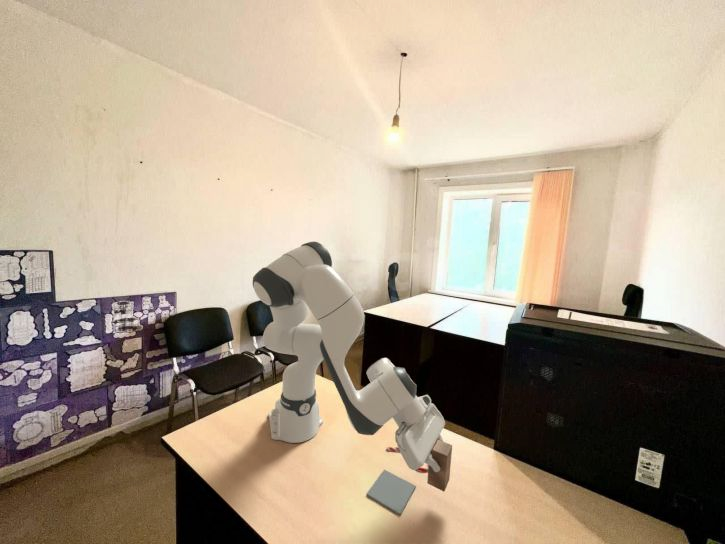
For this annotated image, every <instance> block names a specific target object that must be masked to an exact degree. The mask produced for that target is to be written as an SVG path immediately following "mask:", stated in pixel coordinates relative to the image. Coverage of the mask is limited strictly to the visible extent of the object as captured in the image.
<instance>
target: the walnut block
mask: <svg viewBox="0 0 725 544" xmlns="http://www.w3.org/2000/svg"><path fill="white" fill-rule="evenodd" d="M452 452H453V444H450V443H448V442H445V441H444V440H443V441H441V440H438V439H437V440H436V442H435V444H434V446H433V448H432V450H431V451H430V453H431V455H432V457H431V458H432V459H434V460H435V461H437V460H438V461H439V463H440V464H441V469H440V471H438V472H435V471H434V470H433V469H432V467H431V466H428V465H427V466H428V471H427V481H426V482H427V484H428V485H430V486H432V487H434V488H436V489H438V490H439V491H442V492H444V493H445V492H446V489H447V486H448V484H449V482H450V477H451V476H450V475H451V463H452Z"/></svg>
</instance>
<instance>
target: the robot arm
mask: <svg viewBox="0 0 725 544" xmlns="http://www.w3.org/2000/svg"><path fill="white" fill-rule="evenodd" d="M252 287H253V290H254V293H255V294H256V296H257V298H258V299H259V300H260V301H261V302H262V303H263V304H264V305H266V306H267V307H269V309H270V311H271V315H272V320H273V321H272V322H269V324H267V326H266V327H265V329H264V332H263V335H262V340H263V341H262V342H263V345H264V347H265V348H266V349H268V350H270V351H272V352H275V353H279V354H285V355H291V356H292V355H293V356H296V357H297V361H295V362H293V363H291V364H288V366H286V368H285V369H284V371H283V373H282V388H281V389H282V390H281V391H282V392H281V394H280V398H279V399H278V400H276V401H275V403H274V408H273V409H271V411H270V412H269V413H268V422H269V428H270V429H269V430H270V437H271V439H272V440H275V441H283V442H286V443H291V444H294V443H295V444H297V443H298V444H299V443H303V442H306V441H308V440H311V439H312V438H313V437H315V436H316V435H317V433H318V432H319V428H320V426H322V424H323V423H324V421H323V420H324V419H323V418H322V417H321V415H320V403H319V402H318V401H317V400H316V399H317V392H316V391H317V390H316V388H315V387H316V375H317V370H318V368H319V366H320V364H321V363H322V362H324V363H325V365H326V368H327V370H328V372H329V375H330V378H331V379H332V381H333V384H334V385H335V388H336V390H337V392H338V394H339V397H340V399H341V401H342V403H343V405H344V408H345V411H346V414H347V415H346V416H347V419H348V420H349V423H350V425H351V427H352V428H353V429H354V430H355V431H356V432H357V434H360V435H363V436H374V435H375V434H376V433H377V432H379V430H380V429H381V428H382V427H384V425H385V424H386V423H388V422H389V421H390V420H392V419H393V421H394V422H395V424H396V426H397V427H398V428H397V429H396V430H395V432H394V434H395V436H394V437H395V443H396V446H397V448H399V451H400V452H399V453H400V454H401V457H402V458H403V460H404V463H405V464H406V466H407V467H408V469H410V470H412V471H417V470H416V469H418V468H423V466H424V464H426V465H427V466H428V465H429V466H431V467H432V469H433V470H434V471H435V472H438V471H440V469H441V464H440V463H439V461H438V460H437V461H435V460H434V459H432V458H431V457H432V455H431V453H430V451H431V450H432V448H433V446H434V444H435V442H436V440H437V439H438V440H441V441H443V442H444V439H443V437H442V435H441V433H442V431H443V429H444V428H445V426H446V421H445V419H444V416H443V415H442V413H441V411H440V410H438V408H437V407H436V405H435V404H434V403H432V399H431V397H430V396H429V395H428V394H425V395H422V396H417V386H418V385H417V384H416V383H415V382H414V381H413V380H412V379H411V377H410V375H409V374H408V373H407V371H406V368H405V367H400V366H395V365H394V364H393V363H392V362H391V360H390V359H389V358H387V357H382V358H380V359H378V360H376V361H375V362H374V363H372V364H371V365H370V366H369V367H368V368H367V370H366V375H367V378H368V380H369V382H370V383H368V384H367V385H366V386H364V387H363V388H362V389H361V388H360V389H359V390H357V389H356V388H355V386H354V384H353V381H352V379H351V377H350V375H349V373H348V371H347V368H346V366H345V360H346V359H345V358H346V356H347V354H348V352H349V350H350V349H351V347H352V345H353V344H354V342H355V341H356V339H358V337H359V335H360V333H361V331H362V328H363V325H364V322H365V312H364V311H365V310H364V309H363V307H362V304H361V303H360V301H359V300H358V298H357V296H356V294H355V293H354V292H353V290H352V289H351V288H350V286H349V285H348V284H347V282H346V281H345V280H344V279H343V278H342V277H341V276H340V274H338V272H337V271H336V270H335V269H334V268H333V260H332V256H331V254H330V252H329V251H328V249H327V248H326V246H325V245H323V244H321V243H320V242H318V241H308V242H306V243H303V244H301V246H299V247H296V248H294V249H291V250H289V251H288V252H285V253H284V254H282V256H280V257H278V258H277V259H275V260H274V261H272V262H270V263H269V264H268V265H267V266H266V267H262V268H261V269H260V270H258V271H257V272H256V273H255V274H254V275H253V277H252ZM309 310H310V312H311V314H312V315H313V317H314V319H315V320H316V321H317V323H318V324H316V323H306V322H304V321H305V320H306V319H307V317H308V315H309Z"/></svg>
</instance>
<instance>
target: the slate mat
mask: <svg viewBox="0 0 725 544" xmlns="http://www.w3.org/2000/svg"><path fill="white" fill-rule="evenodd" d="M416 487H417V486H416V485H415V484H413V483H411V482H410V481H407V480H406V479H404V478H402V477H400V476H398V475H396V474H394V473H392V472H390V471H388V470H386V469H383V470H382V472H381V473H380V475H379V476H378V477H377V479H376V480H375V481H374V483H373V484H372V485H371V487H370V488H369V489H368V491H367V492H366V496H367V497H369V498H371V499H372V500H374V501H375V502H377V503H379V504H381V506H384V507H386V508H387V509H389V510H391V511H392V512H394V513H396V515H399V516H401V515H402V513H403V511H404V509H405V508H406V506H407V504H408V502H409V501H410V498H411V497H412V495H413V493H414V491H415V489H416Z"/></svg>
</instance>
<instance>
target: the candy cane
mask: <svg viewBox="0 0 725 544" xmlns="http://www.w3.org/2000/svg"><path fill="white" fill-rule="evenodd" d="M386 451H387V452H399V453H400V451H399V448H398V446H397V447H396V446H395V447H393V446H387V447H386ZM428 466H429V465H428V464H427V465H426V466H425V467H420V468H418V469H416V470H415V471H417V472H421V473H426V472H427V473H428Z"/></svg>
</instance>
